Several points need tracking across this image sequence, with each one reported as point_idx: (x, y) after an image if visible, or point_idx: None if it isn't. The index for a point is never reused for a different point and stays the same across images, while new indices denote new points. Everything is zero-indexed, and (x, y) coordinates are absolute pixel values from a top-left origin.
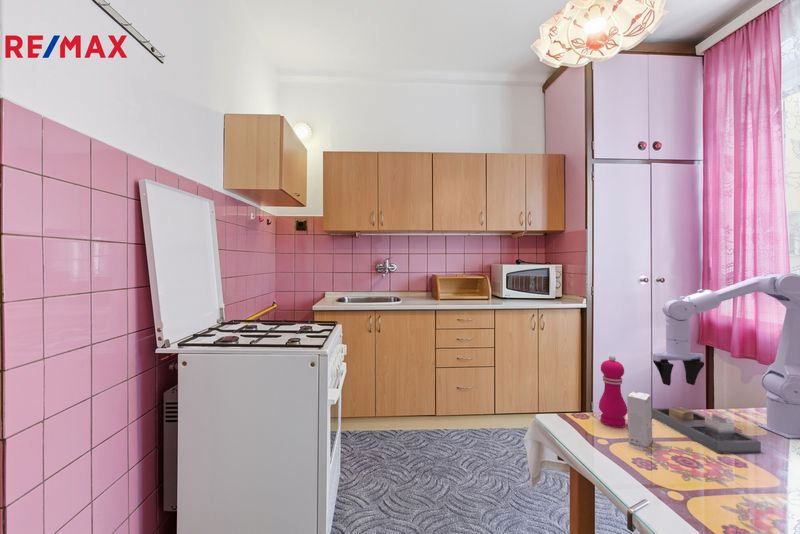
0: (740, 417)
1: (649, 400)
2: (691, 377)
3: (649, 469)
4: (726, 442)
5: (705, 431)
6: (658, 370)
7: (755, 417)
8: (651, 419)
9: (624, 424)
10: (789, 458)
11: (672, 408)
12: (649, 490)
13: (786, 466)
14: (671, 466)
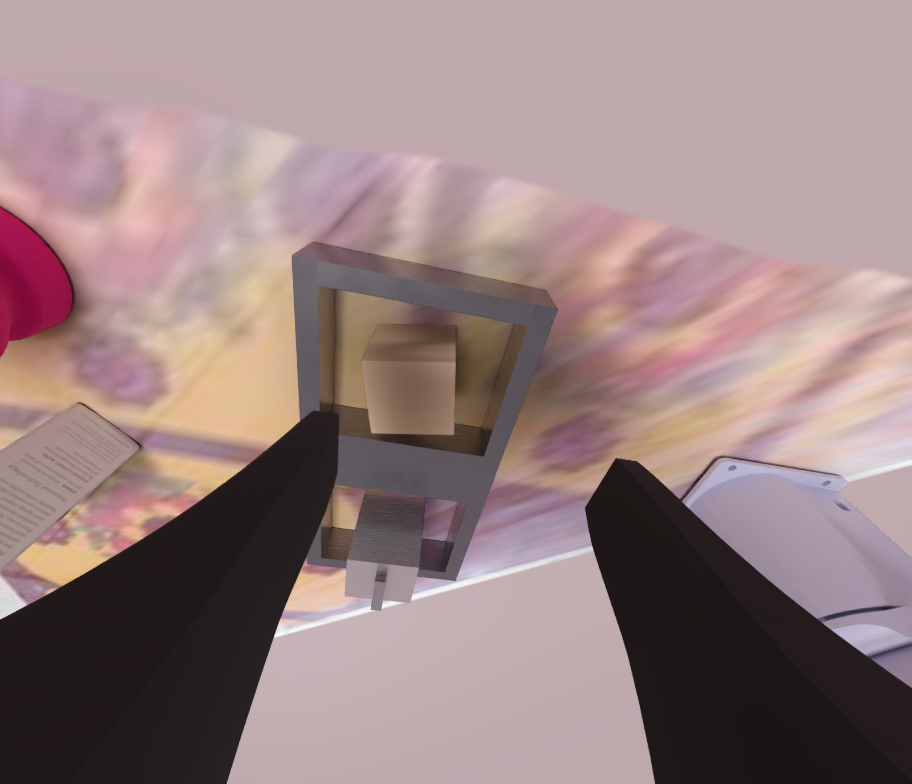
0: (802, 381)
1: None
2: (625, 572)
3: (41, 542)
4: (339, 567)
5: (362, 503)
6: (151, 535)
7: (868, 398)
8: (58, 520)
9: (45, 329)
10: (490, 574)
11: (375, 374)
12: (7, 582)
13: (432, 587)
14: (117, 544)
